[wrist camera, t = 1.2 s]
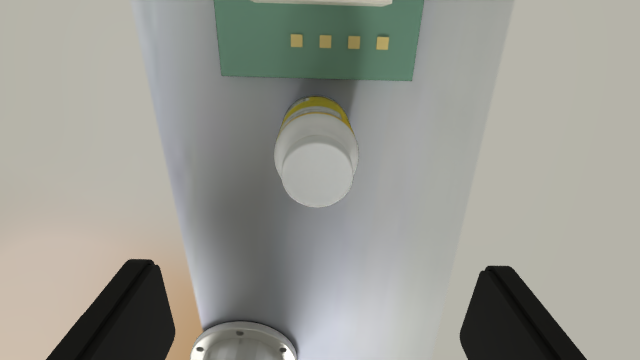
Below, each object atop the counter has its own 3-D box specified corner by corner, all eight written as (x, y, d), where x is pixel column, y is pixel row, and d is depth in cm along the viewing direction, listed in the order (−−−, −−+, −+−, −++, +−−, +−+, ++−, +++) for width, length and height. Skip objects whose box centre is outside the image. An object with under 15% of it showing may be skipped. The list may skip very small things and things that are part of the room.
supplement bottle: (341, 161, 27) (353, 225, 18) (279, 151, 27) (261, 212, 18) (355, 99, 25) (376, 138, 16) (287, 87, 24) (271, 121, 16)
